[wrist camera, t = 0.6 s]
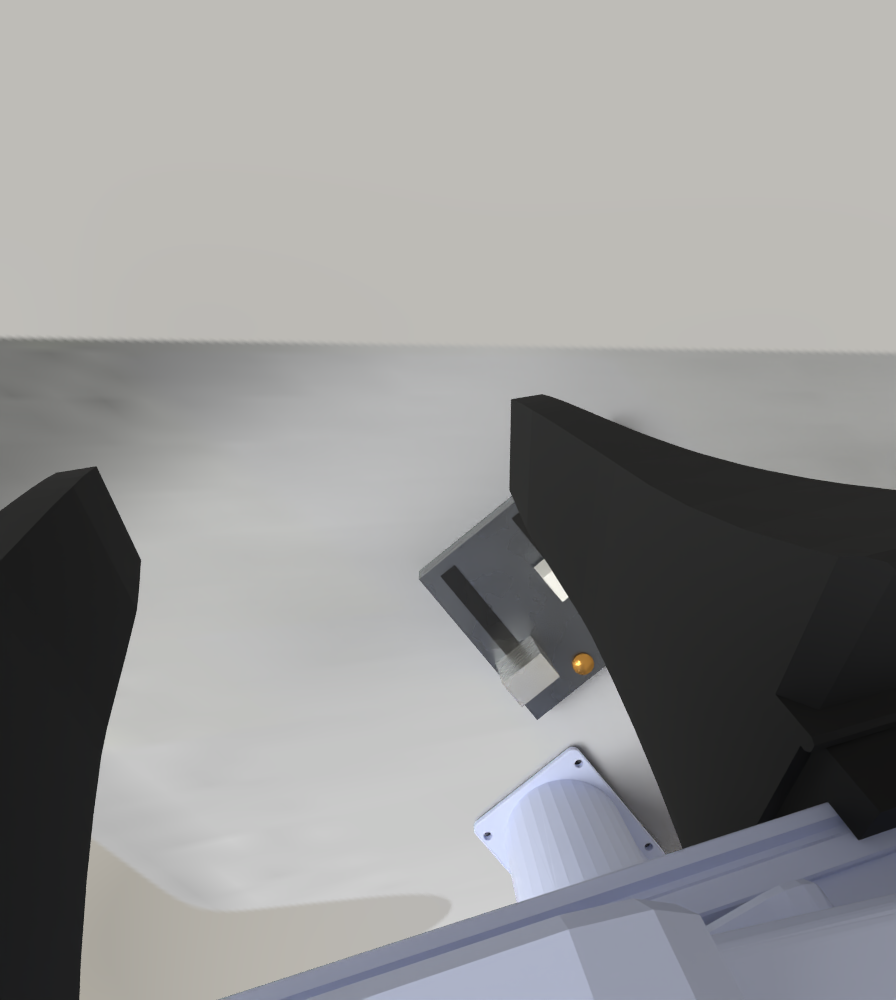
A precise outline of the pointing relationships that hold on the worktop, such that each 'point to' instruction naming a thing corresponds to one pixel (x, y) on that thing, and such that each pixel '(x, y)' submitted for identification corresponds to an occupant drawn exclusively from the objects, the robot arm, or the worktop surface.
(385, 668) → the worktop surface
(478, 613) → the panel
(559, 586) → the white slider knob
